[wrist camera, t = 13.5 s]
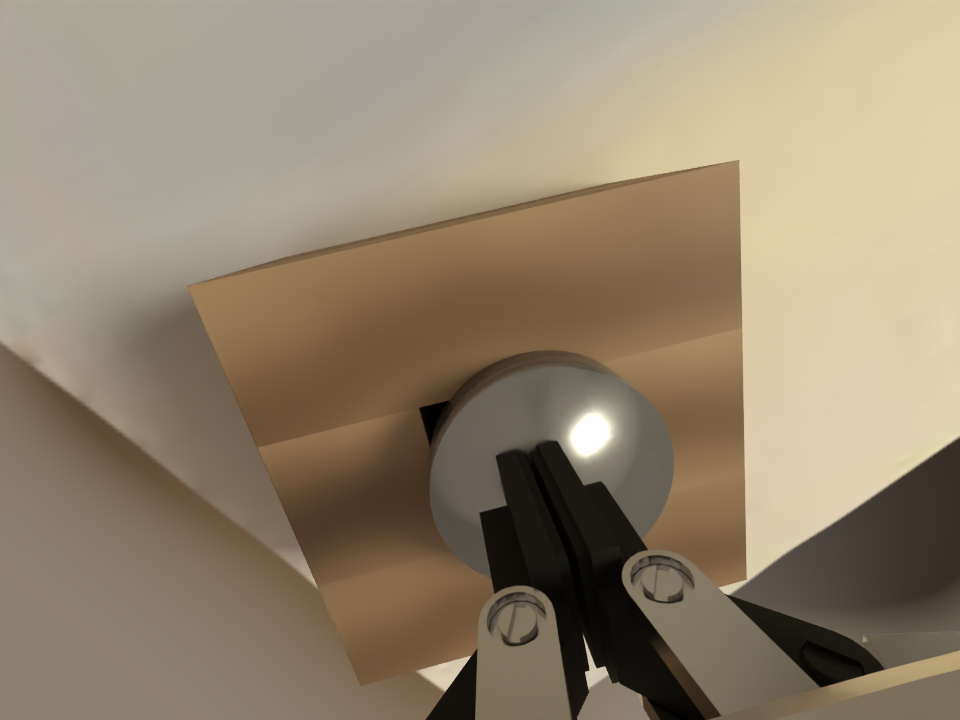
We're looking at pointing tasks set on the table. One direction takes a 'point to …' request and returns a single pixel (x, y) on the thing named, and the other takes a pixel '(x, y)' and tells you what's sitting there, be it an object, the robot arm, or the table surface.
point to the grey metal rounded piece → (545, 441)
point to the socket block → (463, 353)
